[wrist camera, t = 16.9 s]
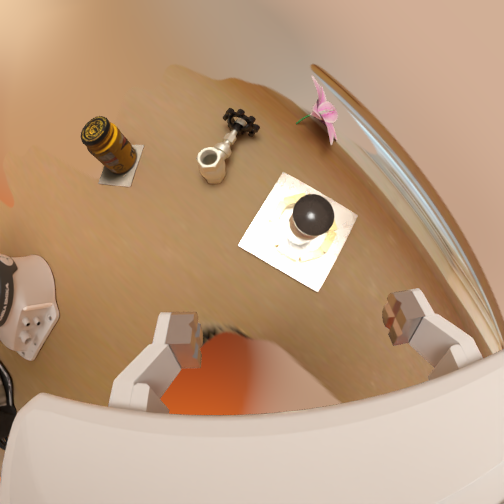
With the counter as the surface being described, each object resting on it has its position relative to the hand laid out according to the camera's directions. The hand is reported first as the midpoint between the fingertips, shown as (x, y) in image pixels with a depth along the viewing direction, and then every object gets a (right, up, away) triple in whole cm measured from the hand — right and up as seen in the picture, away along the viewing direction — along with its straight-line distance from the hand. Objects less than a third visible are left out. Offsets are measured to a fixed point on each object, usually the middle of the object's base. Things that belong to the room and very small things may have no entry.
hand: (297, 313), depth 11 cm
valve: (-6, +19, +35) cm, 40 cm away
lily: (+10, +25, +35) cm, 45 cm away
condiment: (-26, +19, +35) cm, 47 cm away
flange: (+6, +6, +32) cm, 33 cm away
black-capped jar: (+6, +6, +31) cm, 32 cm away
